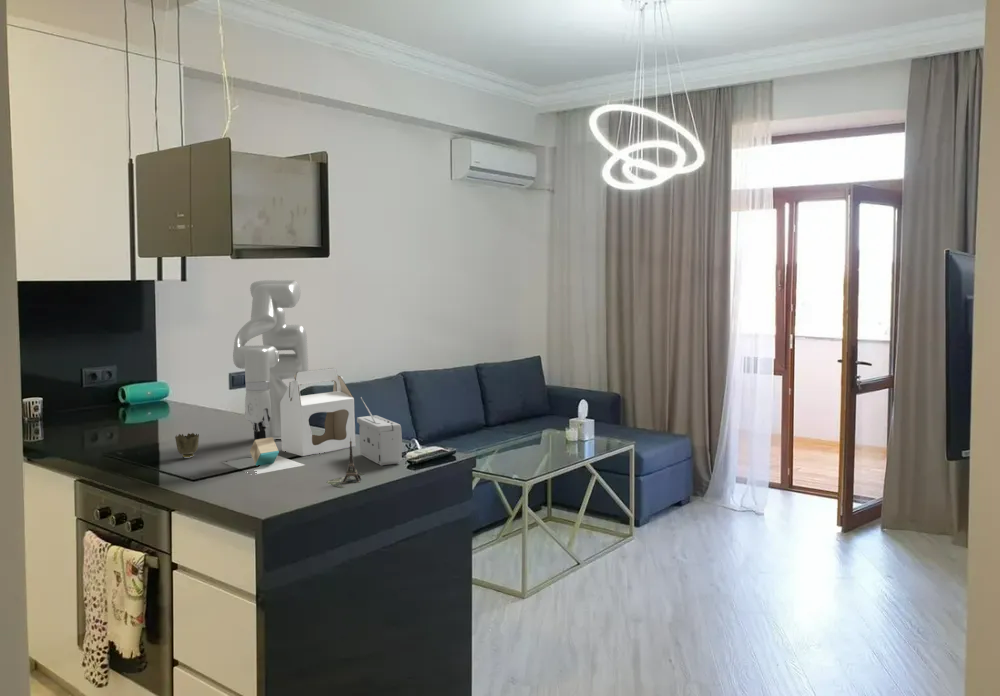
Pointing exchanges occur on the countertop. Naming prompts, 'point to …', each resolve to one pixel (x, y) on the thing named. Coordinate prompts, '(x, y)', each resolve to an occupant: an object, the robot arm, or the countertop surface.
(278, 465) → the mat
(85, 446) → the countertop surface
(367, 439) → the stereo radio cassette player
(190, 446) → the cup
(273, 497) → the countertop surface
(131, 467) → the countertop surface
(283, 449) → the gable box
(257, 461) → the block
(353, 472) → the eiffel tower figurine
